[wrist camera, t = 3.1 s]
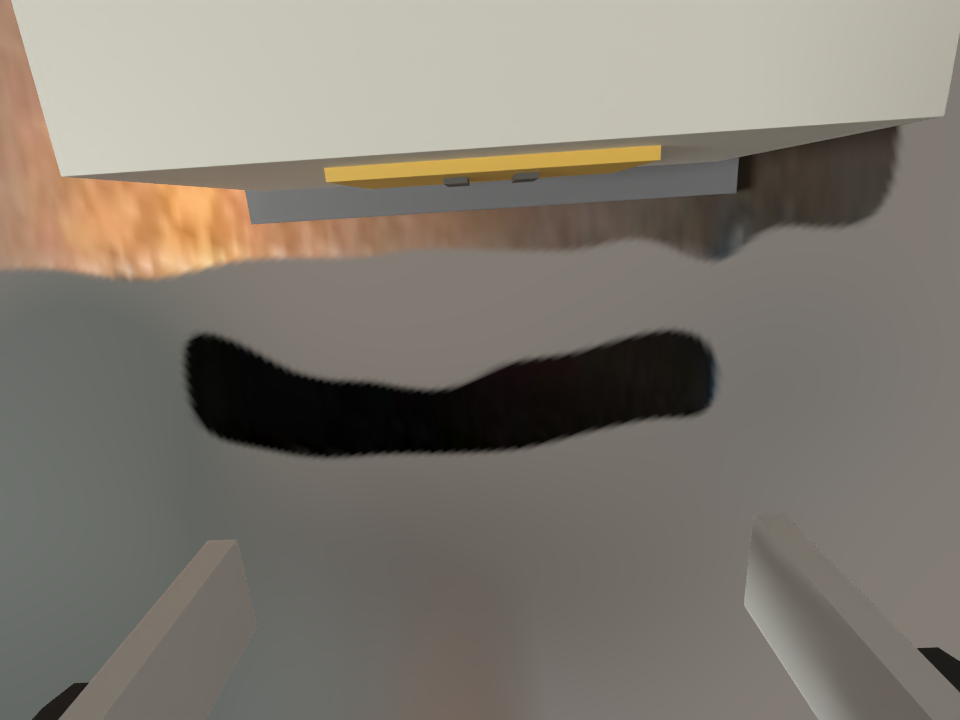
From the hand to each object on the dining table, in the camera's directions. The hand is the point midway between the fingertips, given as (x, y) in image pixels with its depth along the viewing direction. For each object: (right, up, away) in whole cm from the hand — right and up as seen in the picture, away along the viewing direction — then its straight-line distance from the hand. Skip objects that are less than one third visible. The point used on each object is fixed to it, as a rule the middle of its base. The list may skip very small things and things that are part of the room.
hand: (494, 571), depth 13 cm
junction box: (0, +18, +12) cm, 22 cm away
